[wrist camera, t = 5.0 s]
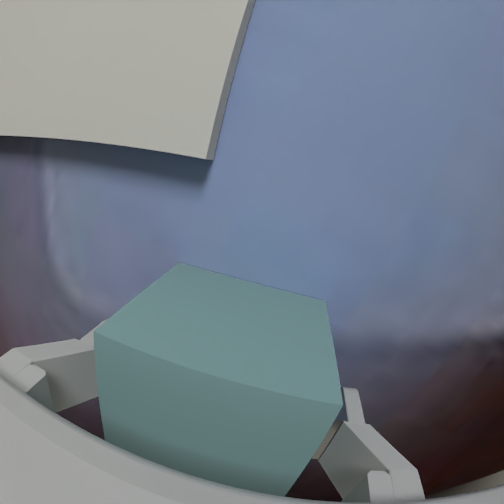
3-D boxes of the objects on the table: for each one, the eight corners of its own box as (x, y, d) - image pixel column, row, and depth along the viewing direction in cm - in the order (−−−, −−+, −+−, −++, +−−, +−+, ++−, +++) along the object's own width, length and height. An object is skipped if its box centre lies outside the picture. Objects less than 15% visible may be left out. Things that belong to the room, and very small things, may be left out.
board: (287, -90, 6) (286, -101, 5) (213, 160, 9) (205, 159, 8) (27, -38, 7) (20, -42, 6) (-34, 134, 10) (-44, 135, 10)
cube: (325, 300, 10) (343, 405, 5) (283, 408, 11) (271, 512, 6) (179, 262, 10) (93, 331, 5) (165, 375, 12) (109, 461, 7)
